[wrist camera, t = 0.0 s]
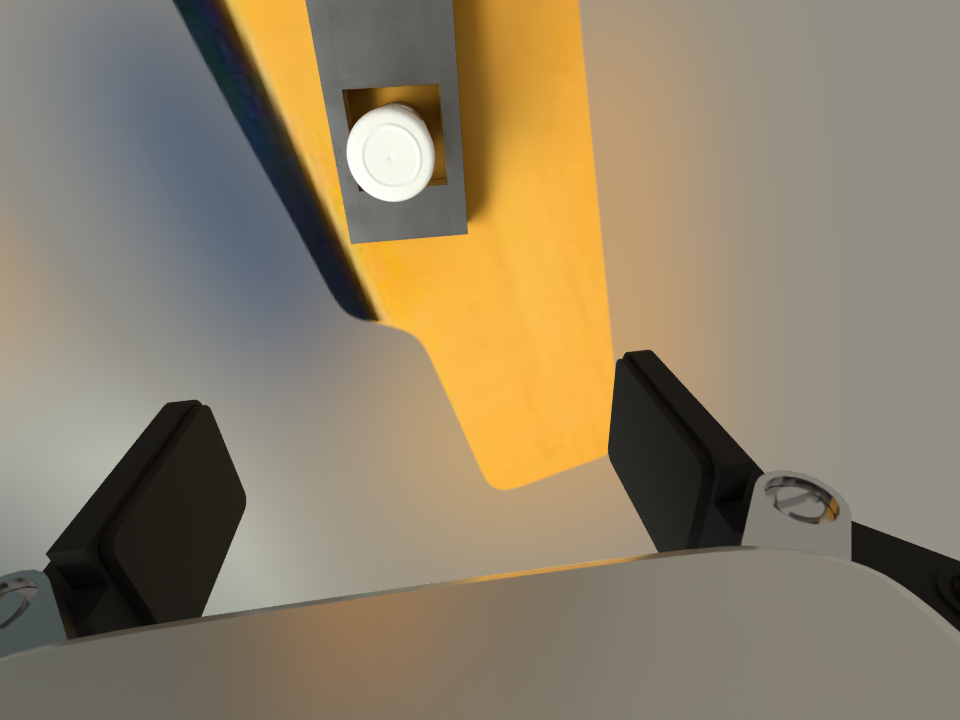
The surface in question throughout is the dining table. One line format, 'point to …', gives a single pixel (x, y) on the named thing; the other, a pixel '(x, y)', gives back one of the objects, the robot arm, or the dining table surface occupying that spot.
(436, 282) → the dining table surface
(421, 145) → the sprinkles bottle
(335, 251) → the dining table surface
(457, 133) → the rail
